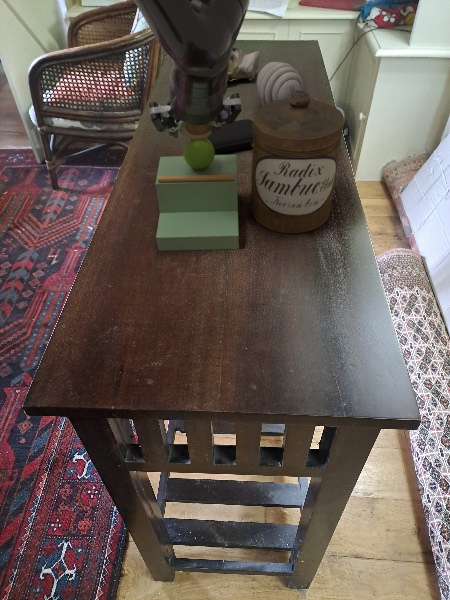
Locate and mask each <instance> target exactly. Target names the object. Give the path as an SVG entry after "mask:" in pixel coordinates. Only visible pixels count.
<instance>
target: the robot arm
mask: <svg viewBox="0 0 450 600" xmlns="http://www.w3.org/2000/svg"><path fill="white" fill-rule="evenodd" d="M250 1H251V0H133V2H134V4H135V5H136V7H137V8H138V10H139V12H140V14H141V15H142V17H143V18H144V20H145V22H146V24H147V25H148V27H149V29H150V31H151V32H152V34H153V36H154V38H155V39H156V41H157V42H158V44H159V45H160V47H161V48H162V49H163V51H165V53H166V54H167V55H168V56H169V57H170V69H169V74H168V77H169V100H168V101H167V103H166V105H161V104H158V102H156V101H151V102H149V103H148V107H149V114H150V120H151V123H152V124H153V126H154V127H155V129H156V130H157V132H159V133H164V132H165V131H166V130H168V135H169V136H171V137H172V136H173V139H179V129H183V128H184V127H185V126H186V125H188V124H190V125H194V126H201V125H205V124H209V125H210V126H211V127H210V128H211V130H212V133H211V134H214V133H216V131H217V130H219V129H220V126H222V123H226V124H232V123H233V122H234V121H236V119H237V118H238V117H239V115H240V113H241V112H242V110H243V109H242V102H241V95H240V93H239V92H233V93H232V94H231V95H230V97H227V98H225V97H226V96H225V95H226V94H227V91H228V82H227V75H228V70H229V66H230V58H231V53H232V50H233V48H234V46H235V43H236V41H237V39H238V36H239V34H240V31H241V28H242V25H243V23H244V20H245V18H246V15H247V12H248V9H249V6H250V3H251V2H250Z"/></svg>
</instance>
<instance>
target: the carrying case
mask: <svg viewBox="0 0 450 600" xmlns="http://www.w3.org/2000/svg"><path fill="white" fill-rule="evenodd" d="M209 130H211V128H210V129H209ZM209 130H208V131H209ZM206 139H208V140H209V141H210V142H211V143H212V145H213V147H214V150H215V155H218V154H223V153H228V152H232V151H237V150H243V149H247V148H253V119H250V118H244V119H237V120H235V121H234V122H233V123H232V124H226V122H223V123H222V126H220V129H219V130H217V131H216V133H214V134H210V135H209V136H208V137H207V138H206Z"/></svg>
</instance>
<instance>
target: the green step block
mask: <svg viewBox="0 0 450 600" xmlns="http://www.w3.org/2000/svg"><path fill="white" fill-rule="evenodd" d="M237 159H238V158H237V154H215V156H214V159H213V162H212V163H211V164H210V165H209V166H208V167H206V168H204V169H194V168H192V167H190V166H189V165H188V164H187V163H186V161H185V159H184V155H180V156H179V155H178V156H177V155H175V156H174V155H173V156H172V155H171V156H160V157H159V162H158V168H157V173H156V177H155V178H156V179H155V191H156V196H157V202H158V208H159V217H158V224H157V229H156V236H155V240H156V245H157V246H156V247H157V250H158V251H159V252H160V251H161V252H165V251H166V252H167V251H168V252H169V251H207V250H208V251H210V250H239V249H240V243H239V242H240V239H239V238H240V237H239V236H240V235H239V234H240V233H239V232H240V231H239V211H238V210H239V202H238V201H239V200H238V199H239V197H238V191H239V190H238V189H239V188H238V160H237Z"/></svg>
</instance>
